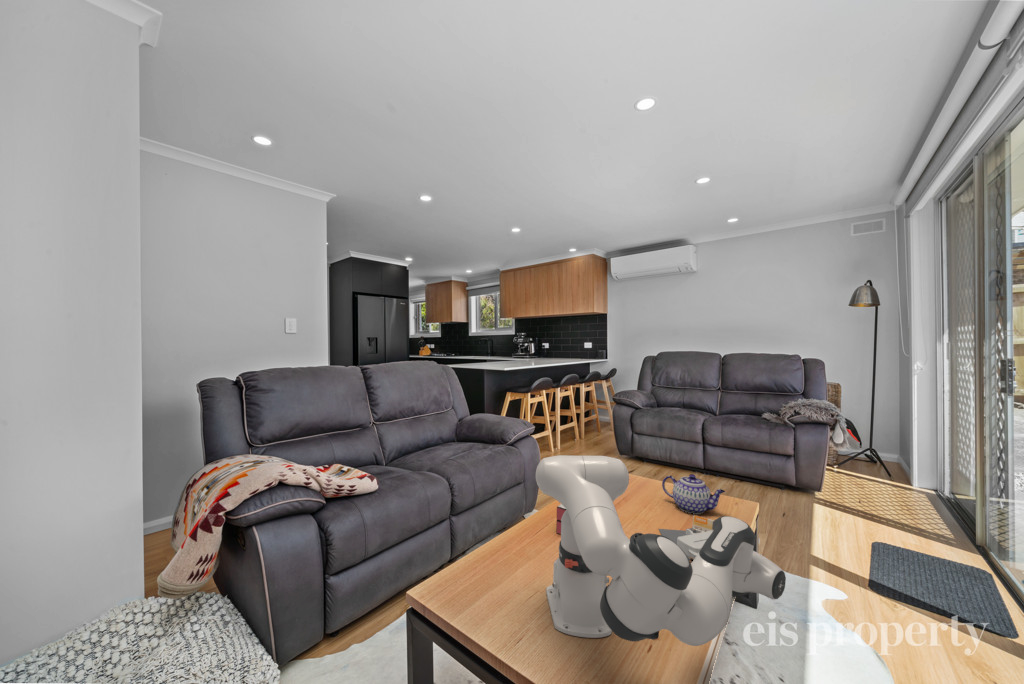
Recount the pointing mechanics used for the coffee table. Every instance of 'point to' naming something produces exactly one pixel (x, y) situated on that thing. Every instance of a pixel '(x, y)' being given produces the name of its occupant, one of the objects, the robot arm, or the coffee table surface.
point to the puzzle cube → (559, 517)
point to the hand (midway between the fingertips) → (689, 530)
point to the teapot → (692, 494)
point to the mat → (673, 535)
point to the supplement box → (702, 524)
